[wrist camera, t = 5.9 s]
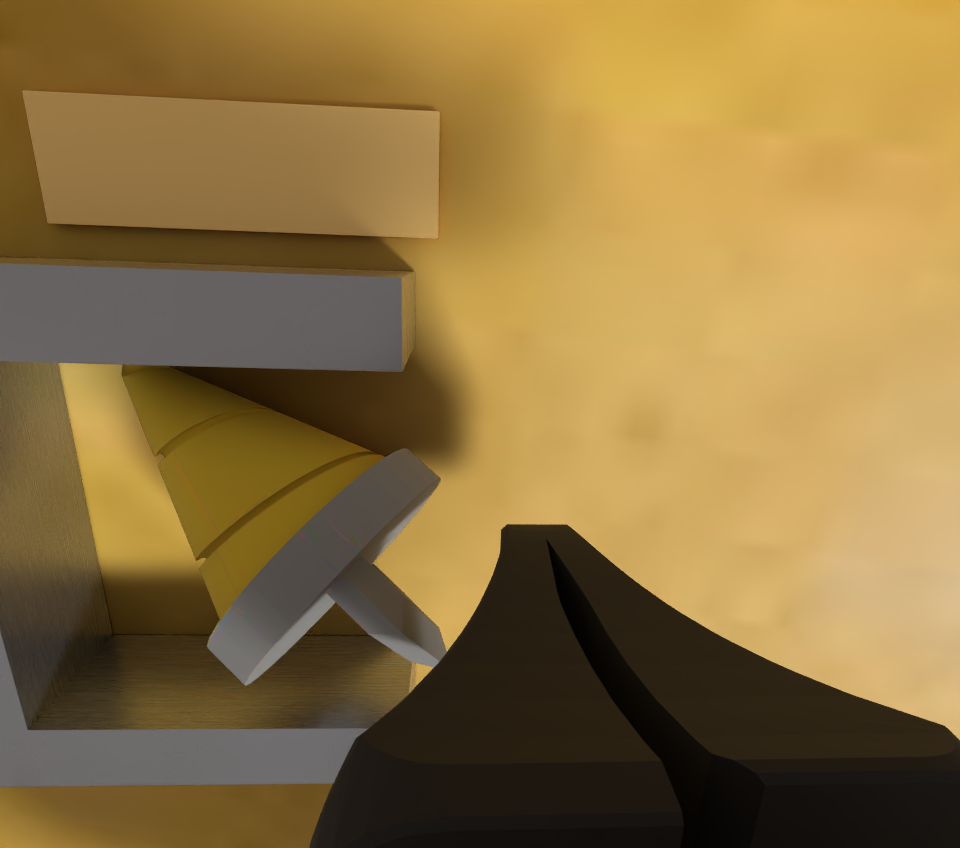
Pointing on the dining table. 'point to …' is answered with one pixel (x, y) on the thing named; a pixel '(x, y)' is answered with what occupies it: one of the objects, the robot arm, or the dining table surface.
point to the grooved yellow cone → (282, 519)
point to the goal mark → (235, 165)
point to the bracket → (71, 550)
